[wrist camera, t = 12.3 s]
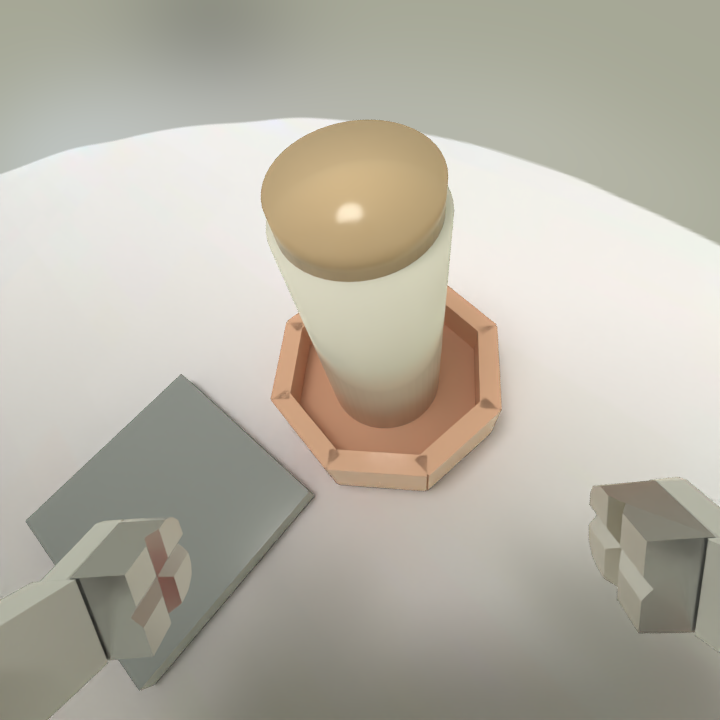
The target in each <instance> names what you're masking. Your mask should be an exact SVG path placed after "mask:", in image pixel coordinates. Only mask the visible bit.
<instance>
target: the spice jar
mask: <svg viewBox="0 0 720 720" xmlns="http://www.w3.org/2000/svg"><path fill="white" fill-rule="evenodd" d="M261 203H262V209H263V211H264V214H265V216H266V219H267V221H266V235H267V241H268V244H269V246H270V249H271V251H272V254H273V256H274V258H275V260H276V263H277V265H278V267H279V269H280V272H281V274H282V276H283V278H284V280H285V283H286V285H287V287H288V289H289V292H290V294H291V296H292V298H293V301H294V303H295V305H296V307H297V310H298V312H299V314H300V316H301V319H302V321H303V323H304V325H305V328H306V330H307V332H308V334H309V336H310V339H311V341H312V343H313V345H314V348H315V350H316V352H317V354H318V357H319V359H320V361H321V363H322V366H323V368H324V370H325V372H326V375H327V377H328V379H329V381H330V384H331V386H332V388H333V390H334V392H335V395H336V397H337V399H338V401H339V403H340V405H341V407H342V408H343V409H344V410H345V412H346V413H347V414H348V415H349V416H351V417H352V418H353V419H355V420H356V421H358V422H360V423H362V424H364V425H367V426H370V427H374V428H395V427H399V426H403V425H406V424H408V423H410V422H412V421H414V420H416V419H417V418H418V417H420V416H421V415H422V414H423V413H424V412H425V411H426V410H427V409H428V408H429V407H430V405H431V404H432V402H433V400H434V398H435V396H436V393H437V389H438V383H439V372H440V361H441V350H442V339H443V328H444V317H445V306H446V295H447V284H448V272H449V261H450V250H451V239H452V228H453V217H454V204H453V198H452V195H451V192H450V190H449V188H448V169H447V165H446V161H445V159H444V157H443V155H442V153H441V151H440V150H439V148H438V147H437V146H436V145H435V144H434V143H433V142H432V141H431V140H430V139H429V138H428V137H426V136H425V135H424V134H422V133H420V132H419V131H417V130H415V129H413V128H410V127H407V126H405V125H402V124H398V123H394V122H389V121H383V120H355V121H347V122H342V123H337V124H333V125H330V126H327V127H324V128H321V129H318V130H316V131H314V132H312V133H309V134H307V135H306V136H304V137H302V138H300V139H299V140H297V141H296V142H294V143H293V144H291V145H290V146H289V147H288V148H286V149H285V150H284V151H283V152H282V153H281V154H280V155H279V156H278V157H277V158H276V159H275V161H274V162H273V163H272V165H271V166H270V168H269V170H268V171H267V173H266V175H265V178H264V181H263V184H262V189H261Z"/></svg>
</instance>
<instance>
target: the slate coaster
mask: <svg viewBox="0 0 720 720" xmlns="http://www.w3.org/2000/svg"><path fill="white" fill-rule="evenodd" d="M313 497H314V495H313V494H312V493H311V492H310V491H309V490H308V489H306V488H305V487H304V486H303V485H302V484H301V483H300V482H299V481H298V480H297V479H296V478H294V477H293V476H292V475H291V474H290V473H289V472H288V471H287V470H286V469H285V468H284V467H282V466H281V465H280V464H279V463H278V462H277V461H276V460H275V459H274V458H273V457H272V456H271V455H269V454H268V453H267V452H266V451H265V450H264V449H263V448H262V447H261V446H260V445H259V444H257V443H256V442H255V441H254V440H253V439H252V438H251V437H250V436H249V435H248V434H247V433H245V432H244V431H243V430H242V429H241V428H240V427H239V426H238V425H237V424H236V423H235V422H234V421H232V420H231V419H230V418H229V417H228V416H227V415H226V414H225V413H224V412H223V411H222V410H220V409H219V408H218V407H217V406H216V405H215V404H214V403H213V402H212V401H211V400H210V399H208V398H207V397H206V396H205V395H204V394H203V393H202V392H201V391H200V390H199V389H198V388H196V387H195V386H194V385H193V384H192V383H191V382H190V381H189V380H188V379H187V378H185V377H184V376H183V375H182V374H181V375H180V376H179V377H178V378H177V379H175V380H174V381H173V382H172V383H171V384H170V385H169V386H168V387H167V388H166V389H165V390H164V391H163V392H162V393H161V394H160V395H159V396H157V397H156V398H155V399H154V400H153V401H152V402H151V403H150V404H149V405H148V406H147V407H146V408H145V409H144V410H143V411H142V412H141V413H139V414H138V415H137V416H136V417H135V418H134V419H133V420H132V421H131V422H130V423H129V424H128V425H127V426H126V427H125V428H124V429H122V430H121V431H120V432H119V433H118V434H117V435H116V436H115V437H114V438H113V439H112V440H111V441H110V442H109V443H108V444H107V445H106V446H104V447H103V448H102V449H101V450H100V451H99V452H98V453H97V454H96V455H95V456H94V457H93V458H92V459H91V460H90V461H89V462H88V463H86V464H85V465H84V466H83V467H82V468H81V469H80V470H79V471H78V472H77V473H76V474H75V475H74V476H73V477H72V478H71V479H69V480H68V481H67V482H66V483H65V484H64V485H63V486H62V487H61V488H60V489H59V490H58V491H57V492H56V493H55V494H54V495H53V496H51V497H50V498H49V499H48V500H47V501H46V502H45V503H44V504H43V505H42V506H41V507H40V508H39V509H38V510H37V511H36V512H35V513H33V514H32V515H31V516H30V517H29V518H28V519H27V520H26V523H27V524H28V526H29V527H30V529H31V530H32V532H33V533H34V535H35V536H36V538H37V539H38V541H39V542H40V544H41V545H42V547H43V548H44V550H45V551H46V553H47V554H48V555H49V557H50V558H51V560H52V561H53V563H54V564H55V566H56V565H57V563H58V562H59V561H60V560H61V559H62V558H63V557H64V556H65V555H66V554H67V553H68V552H69V551H70V550H71V549H72V548H73V547H74V546H75V545H76V544H77V543H78V542H79V541H80V540H81V539H82V538H83V537H84V535H85V534H86V533H87V532H88V531H89V530H90V529H91V528H92V527H93V526H94V525H95V524H97V523H100V522H102V521H109V520H122V519H123V520H126V519H140V518H159V517H173V518H175V519H177V520H178V521H179V524H180V527H181V530H182V533H183V535H182V537H181V539H180V541H179V543H178V544H179V545H181V546H182V547H183V548H184V549H185V550H186V551H187V552H188V553H189V557H190V560H191V571H192V575H191V580H190V585H189V590H188V592H187V594H186V596H185V598H184V600H183V602H182V603H181V604H180V605H179V606H178V607H176V608H175V609H174V610H173V611H172V612H170V613H169V616H170V620H171V625H170V627H169V629H168V631H167V632H166V634H165V636H164V638H163V640H162V642H161V644H160V646H159V647H158V649H157V651H156V653H155V655H154V657H142V658H130V659H118V660H119V661H120V663H121V664H122V666H123V667H124V669H125V670H126V672H127V673H128V675H129V676H130V678H131V679H132V681H133V682H134V684H135V685H136V687H137V688H138V690H139V691H140V690H142V689H145V688H148V687H150V686H153V685H155V684H156V682H157V681H158V680H159V679H160V678H161V677H162V675H163V674H164V673H165V672H166V671H167V669H168V668H169V667H170V666H171V665H172V664H173V662H174V661H175V660H176V659H177V658H178V656H179V655H180V654H181V653H182V652H183V651H184V649H185V648H186V647H187V646H188V645H189V643H190V642H191V641H192V640H193V639H194V638H195V636H196V635H197V634H198V633H199V632H200V630H201V629H202V628H203V627H204V626H205V625H206V623H207V622H208V621H209V620H210V619H211V617H212V616H213V615H214V614H215V613H216V612H217V610H218V609H219V608H220V607H221V606H222V604H223V603H224V602H225V601H226V600H227V599H228V597H229V596H230V595H231V594H232V593H233V591H234V590H235V589H236V588H237V587H238V586H239V584H240V583H241V582H242V581H243V580H244V578H245V577H246V576H247V575H248V574H249V573H250V571H251V570H252V569H253V568H254V567H255V565H256V564H257V563H258V562H259V561H260V560H261V558H262V557H263V556H264V555H265V554H266V552H267V551H268V550H269V549H270V548H271V547H272V545H273V544H274V543H275V542H276V541H277V539H278V538H279V537H280V536H281V535H282V534H283V532H284V531H285V530H286V529H287V528H288V526H289V525H290V524H291V523H292V522H293V521H294V519H295V518H296V517H297V516H298V515H299V513H300V512H301V511H302V510H303V509H304V508H305V506H306V505H307V504H308V503H309V502H310V500H311V499H312V498H313Z"/></svg>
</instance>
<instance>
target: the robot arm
mask: <svg viewBox="0 0 720 720" xmlns="http://www.w3.org/2000/svg"><path fill="white" fill-rule="evenodd" d="M589 505H590V506H591V507H592V509H593V510H594V511H595V513H596V514H597V515H596V517H595V518H594V519H593V520H592V521H591V523H590V524H589V544H590V548H591V553H592V556H593V559H594V561H595V564H596V566H597V568H598V570H599V571H600V573H601V575H602V576H603V578H604V579H606V580H607V581H609V582H610V583H612V584H614V585H615V586H617V587H618V588H617V600H618V602H619V603H620V605H621V606H622V608H623V610H624V611H625V613H626V614H627V616H628V617H629V619H630V621H631V622H632V624H633V625H634V627H635V628H636V630H637V632H638V633H685V632H695V636H697V637H698V638H699V639H701V640H702V641H703V642H705V643H706V644H708V645H709V646H710V647H712V648H713V649H714V650H716V651H717V652H719V653H720V507H719V506H717V505H716V504H715V503H714V502H713V501H711V500H710V499H709V498H708V497H707V496H705V495H704V494H703V493H702V492H701V491H699V490H698V489H697V488H696V487H695V486H693V485H692V484H691V483H690V482H689V481H687V480H686V479H683V478H680V477H672V478H663V479H654V480H649V481H640V482H629V483H617V484H605V485H594V486H593V487H592V489H591V492H590V504H589ZM182 535H183V533H182V530H181V527H180V524H179V521H178V520H177V519H175V518H173V517H159V518H140V519H126V520H123V519H122V520H109V521H102V522H100V523H97V524H95V525H94V526H93V527H92V528H91V529H90V530H89V531H88V532H87V533H86V534H85V535H84V537H83V538H82V539H81V540H80V541H79V542H78V543H77V544H76V545H75V546H74V547H73V548H72V549H71V550H70V551H69V552H68V553H67V554H66V555H65V556H64V557H63V558H62V559H61V560H60V561H59V562H58V563H57V565H56V566H55V567H54V568H53V569H52V570H51V571H50V572H49V573H48V574H47V575H46V576H45V577H44V578H43V579H42V580H41V581H40V582H32V583H30V584H28V585H26V586H25V587H23V588H21V589H19V590H18V591H16V592H14V593H12V594H10V595H9V596H7V597H5V598H3V599H2V600H0V720H48V719H49V718H50V717H51V716H52V715H53V714H54V713H55V712H56V711H58V710H59V709H60V708H61V707H62V706H63V705H64V704H65V703H66V702H67V701H68V700H69V699H70V698H71V697H72V696H74V695H75V694H76V693H77V692H78V691H79V690H80V689H81V688H82V687H83V686H84V685H85V684H86V683H87V682H88V681H89V680H91V679H92V678H93V677H94V676H95V675H96V674H97V673H98V672H99V671H100V670H101V669H102V668H103V667H104V666H105V665H107V664H108V660H118V659H130V658H142V657H154V655H155V653H156V651H157V649H158V647H159V646H160V644H161V642H162V640H163V638H164V636H165V634H166V632H167V631H168V629H169V627H170V625H171V620H170V616H169V613H170V612H172V611H173V610H174V609H175V608H176V607H178V606H179V605H180V604H181V603H182V602H183V600H184V598H185V596H186V594H187V592H188V590H189V585H190V580H191V575H192V571H191V560H190V557H189V553H188V552H187V551H186V550H185V549H184V548H183V547H182V546H181V545H179V544H178V543H179V541H180V539H181V537H182Z"/></svg>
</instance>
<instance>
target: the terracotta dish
mask: <svg viewBox="0 0 720 720" xmlns="http://www.w3.org/2000/svg"><path fill="white" fill-rule="evenodd" d="M271 401H272V402H273V403H274V405H275V406H276V407H277V409H278V410H279V411H280V412H281V414H282V415H283V416H284V417H285V419H286V420H287V421H288V423H289V424H290V425H291V426H292V428H293V429H294V430H295V431H296V433H297V434H298V435H299V437H300V438H301V439H302V440H303V442H304V443H305V444H306V445H307V447H308V448H309V449H310V450H311V452H312V453H313V454H314V456H315V457H316V458H317V459H318V461H319V462H320V463H321V464H322V466H323V467H324V468H325V470H326V471H327V472H328V473H329V474H330V476H331V477H332V478H333V479H334V480H335V482H336V483H338V484H339V485H351V486H364V487H377V488H391V489H404V490H417V491H426V489H427V490H429V489H430V488H431V487H432V486H433V485H435V484H436V483H437V482H438V481H439V480H440V479H441V478H442V477H443V476H444V475H446V474H447V473H448V472H449V471H450V470H451V469H452V468H453V467H454V466H455V465H456V464H458V463H459V462H460V461H461V460H462V459H463V458H464V457H465V456H466V455H467V454H469V453H470V452H471V451H472V450H473V449H474V448H475V447H476V446H477V445H478V444H479V443H481V442H482V441H483V440H484V439H485V438H486V437H487V436H488V435H489V434H490V433H491V431H492V429H493V427H494V425H495V423H496V420H497V418H498V416H499V414H500V412H501V409H502V407H501V389H500V371H499V352H498V334H497V326H496V324H495V323H494V322H493V321H491V320H490V319H489V318H488V317H486V316H485V315H484V314H483V313H481V312H480V311H479V310H478V309H476V308H475V307H474V306H473V305H471V304H470V303H469V302H468V301H466V300H465V299H464V298H463V297H461V296H460V295H459V294H458V293H456V292H455V291H454V290H453V289H451V288H450V287H449V286H448V285H447V295H446V306H445V317H444V328H443V339H442V350H441V361H440V372H439V383H438V389H437V393H436V396H435V398H434V400H433V402H432V404H431V405H430V407H429V408H428V409H427V410H426V411H425V412H424V413H423V414H422V415H421V416H420V417H418V418H417V419H416V420H414V421H412V422H410V423H408V424H406V425H403V426H399V427H395V428H374V427H370V426H367V425H364V424H362V423H360V422H358V421H356V420H355V419H353V418H352V417H351V416H349V415H348V414H347V413H346V412H345V410H344V409H343V408H342V407H341V405H340V403H339V401H338V399H337V397H336V395H335V392H334V390H333V388H332V386H331V384H330V381H329V379H328V377H327V375H326V372H325V370H324V368H323V366H322V363H321V361H320V359H319V357H318V354H317V352H316V350H315V348H314V345H313V343H312V341H311V339H310V336H309V334H308V332H307V330H306V328H305V325H304V323H303V321H302V319H301V316H300V314H299V313H298V314H296V315H295V316H293V317H292V318H291V319H289V320H288V322H286V327H285V332H284V337H283V342H282V346H281V351H280V356H279V361H278V366H277V371H276V376H275V381H274V385H273V390H272V395H271Z"/></svg>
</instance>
